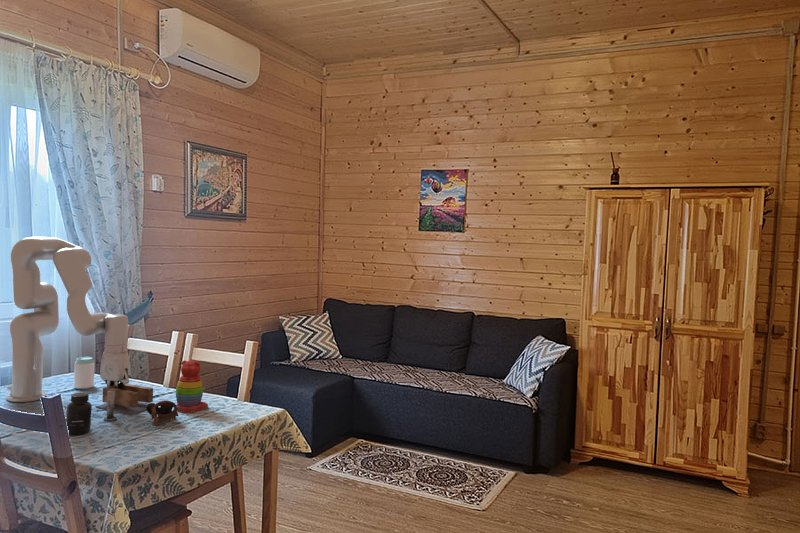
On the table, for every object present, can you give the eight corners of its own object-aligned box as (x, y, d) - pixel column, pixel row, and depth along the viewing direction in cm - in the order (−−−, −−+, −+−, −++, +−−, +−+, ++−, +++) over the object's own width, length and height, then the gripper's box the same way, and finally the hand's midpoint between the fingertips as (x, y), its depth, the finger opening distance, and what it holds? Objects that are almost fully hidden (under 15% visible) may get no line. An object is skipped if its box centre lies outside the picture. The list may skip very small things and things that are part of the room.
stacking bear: (209, 406, 218) (211, 359, 218) (196, 414, 208) (198, 364, 208) (182, 404, 220) (184, 356, 219) (168, 411, 210) (169, 362, 209)
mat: (95, 407, 210) (95, 406, 210) (122, 399, 221) (122, 398, 221) (131, 414, 204) (131, 413, 204) (157, 406, 215) (157, 405, 215)
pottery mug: (184, 420, 203) (184, 403, 199) (168, 439, 195) (167, 422, 191) (154, 408, 205) (153, 391, 200) (136, 426, 197) (135, 409, 192)
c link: (102, 401, 211) (102, 388, 211) (122, 396, 219) (123, 383, 219) (133, 407, 206) (133, 393, 205) (152, 401, 214) (153, 388, 214)
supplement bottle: (73, 437, 179) (74, 398, 179) (61, 432, 183) (62, 394, 182) (95, 432, 185) (96, 394, 184) (83, 427, 189) (84, 390, 188)
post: (101, 420, 197) (102, 391, 196) (110, 417, 200) (111, 389, 200) (109, 422, 195) (110, 393, 195) (119, 419, 199) (119, 391, 198)
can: (78, 390, 231) (79, 360, 231) (70, 387, 236) (71, 357, 235) (96, 387, 237) (97, 358, 236) (89, 384, 241) (89, 355, 241)
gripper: (91, 347, 214) (90, 398, 214) (124, 352, 208) (123, 404, 208) (108, 344, 220) (107, 393, 221) (140, 349, 215) (139, 399, 215)
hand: (114, 398), depth 215 cm, fingers closed on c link
